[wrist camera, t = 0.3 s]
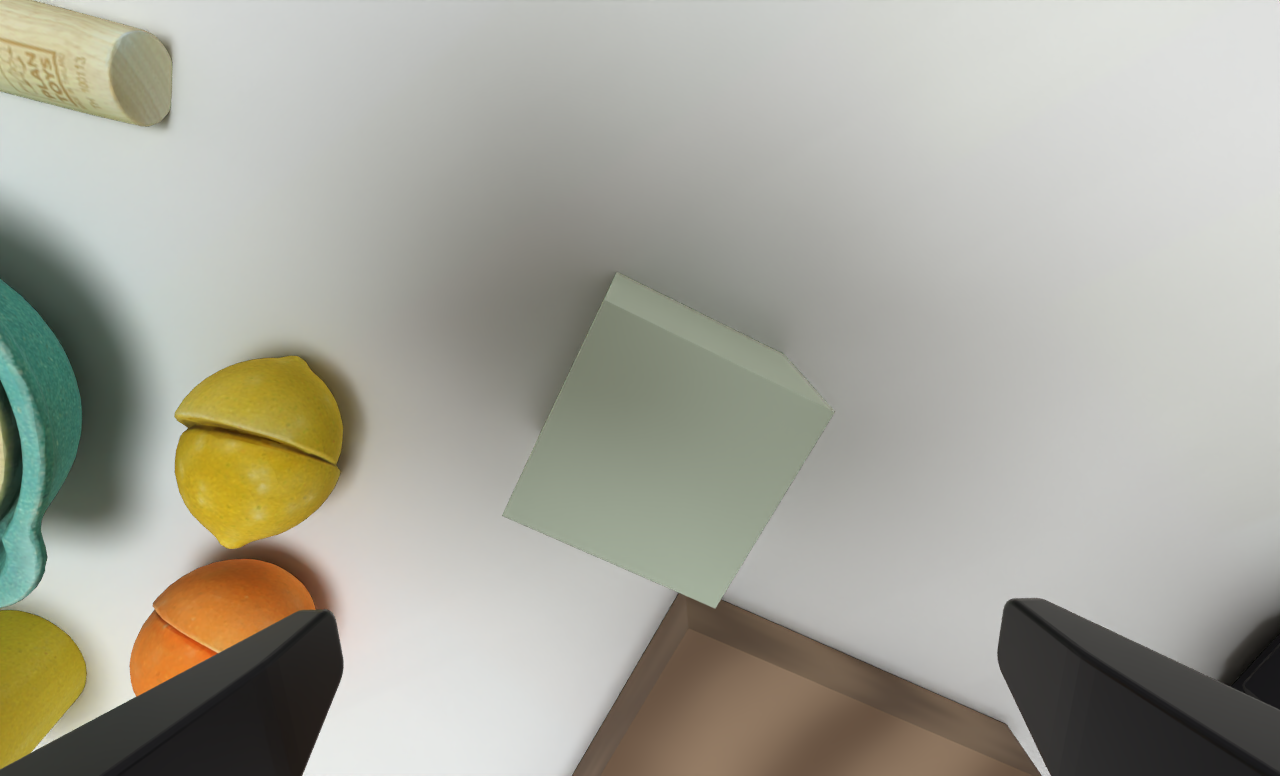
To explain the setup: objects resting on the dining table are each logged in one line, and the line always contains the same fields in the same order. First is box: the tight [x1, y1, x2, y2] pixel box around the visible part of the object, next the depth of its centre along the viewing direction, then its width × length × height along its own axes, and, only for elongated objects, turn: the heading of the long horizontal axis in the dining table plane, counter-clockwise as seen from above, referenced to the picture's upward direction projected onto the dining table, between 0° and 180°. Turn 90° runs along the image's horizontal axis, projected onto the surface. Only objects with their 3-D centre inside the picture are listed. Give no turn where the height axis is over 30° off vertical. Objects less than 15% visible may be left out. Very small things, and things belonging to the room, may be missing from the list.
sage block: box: [502, 272, 835, 608], centre depth 18 cm, size 6×6×6 cm
